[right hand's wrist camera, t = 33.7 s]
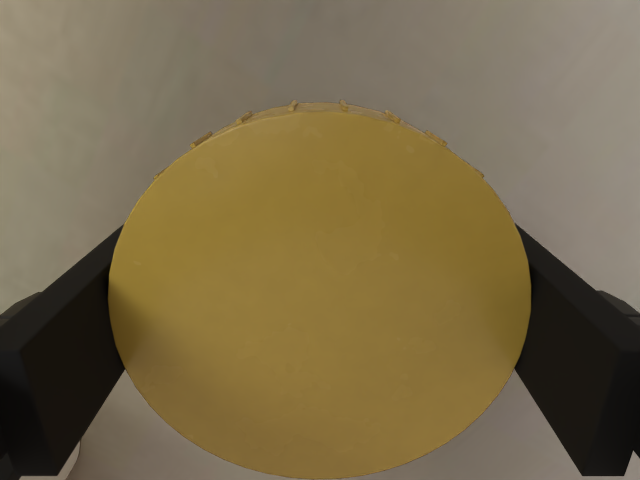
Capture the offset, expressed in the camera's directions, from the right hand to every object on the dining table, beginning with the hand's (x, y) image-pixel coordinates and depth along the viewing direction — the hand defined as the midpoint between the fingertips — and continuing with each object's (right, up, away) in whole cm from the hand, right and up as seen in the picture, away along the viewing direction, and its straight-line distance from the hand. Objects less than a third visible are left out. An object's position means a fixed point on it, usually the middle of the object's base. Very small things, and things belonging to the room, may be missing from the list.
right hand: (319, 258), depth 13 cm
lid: (0, -1, -3) cm, 3 cm away
